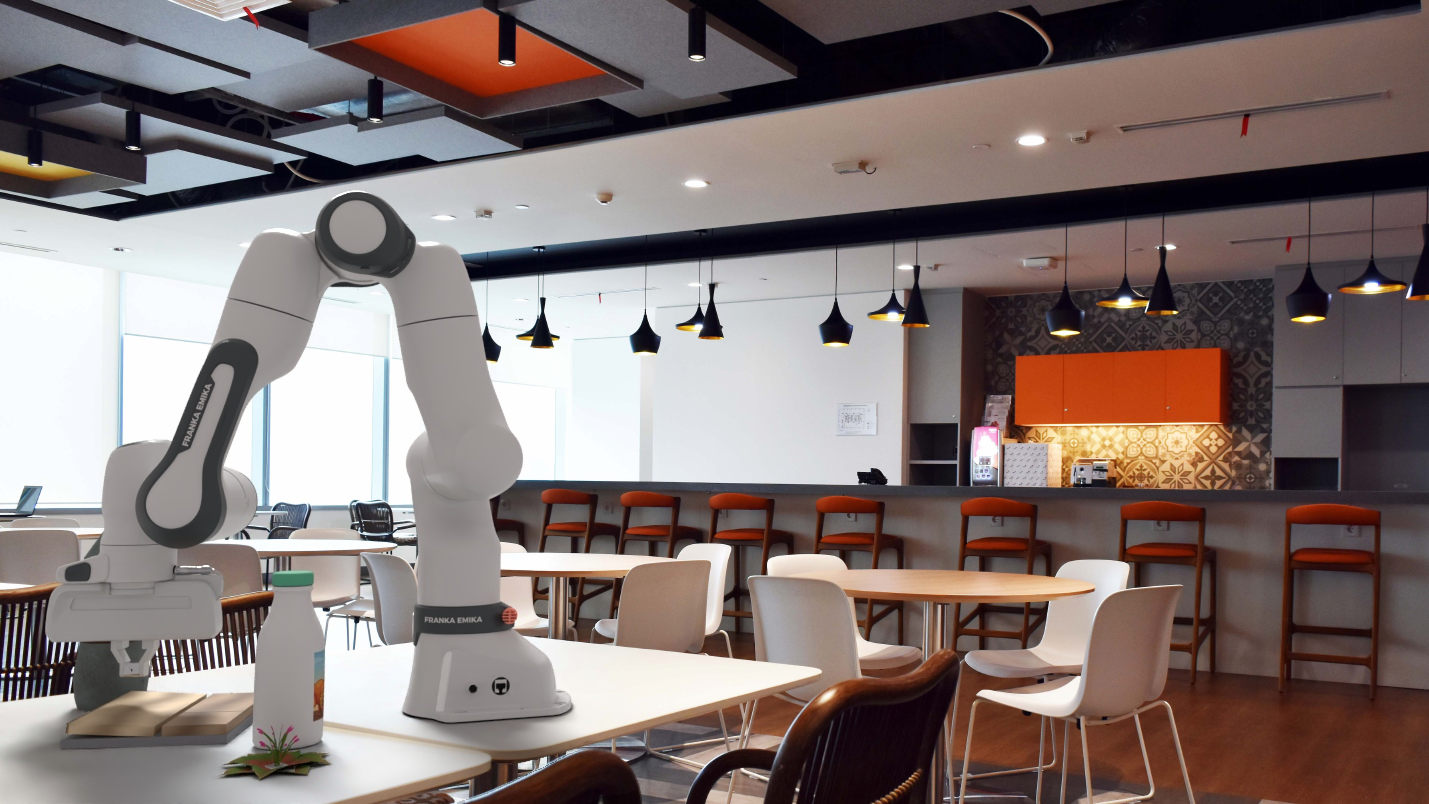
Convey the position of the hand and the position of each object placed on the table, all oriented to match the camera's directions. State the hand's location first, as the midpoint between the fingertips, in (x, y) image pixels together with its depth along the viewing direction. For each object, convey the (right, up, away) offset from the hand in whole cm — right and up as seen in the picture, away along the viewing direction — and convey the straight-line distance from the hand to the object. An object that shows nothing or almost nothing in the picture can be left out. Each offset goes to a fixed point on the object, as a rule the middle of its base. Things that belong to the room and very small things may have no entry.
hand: (134, 676), depth 136 cm
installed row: (+11, -5, -1) cm, 13 cm away
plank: (+2, -4, -3) cm, 6 cm away
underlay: (+6, -6, -2) cm, 9 cm away
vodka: (-9, -7, +10) cm, 15 cm away
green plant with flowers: (+27, -5, -21) cm, 34 cm away
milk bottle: (+24, -5, -11) cm, 27 cm away
